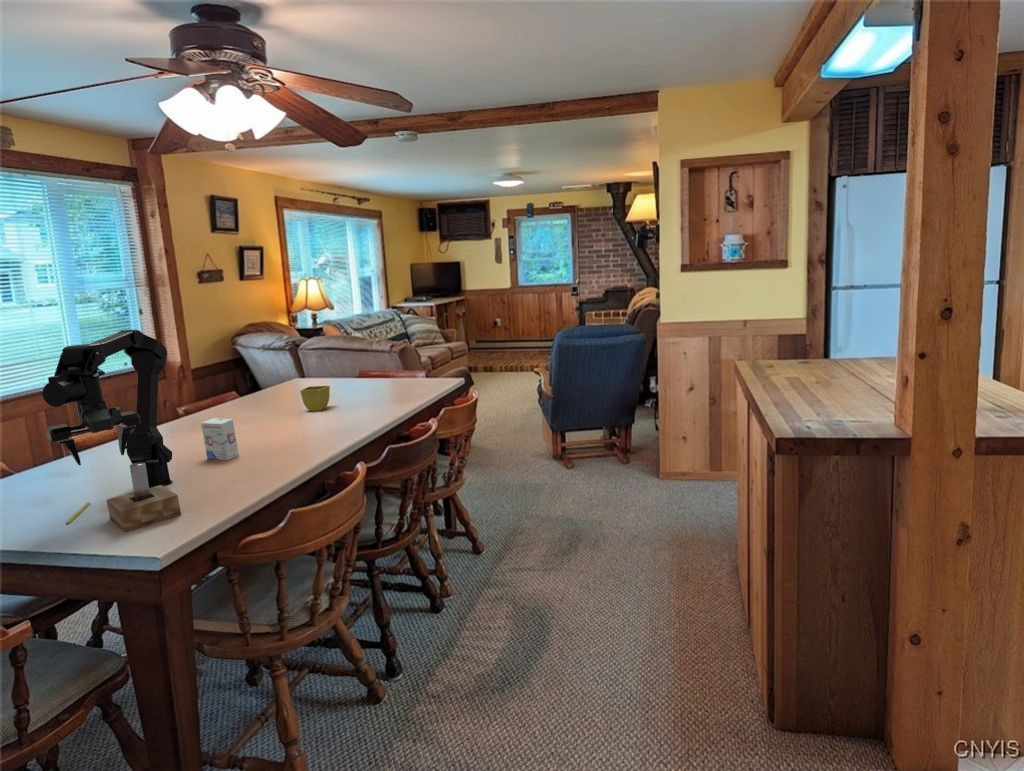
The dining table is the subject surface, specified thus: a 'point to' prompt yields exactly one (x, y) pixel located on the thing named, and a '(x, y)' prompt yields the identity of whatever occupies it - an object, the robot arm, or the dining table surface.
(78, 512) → the pencil
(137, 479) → the pin
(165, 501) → the socket block
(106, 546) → the dining table surface
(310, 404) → the flower pot
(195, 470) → the dining table surface
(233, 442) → the ink box
